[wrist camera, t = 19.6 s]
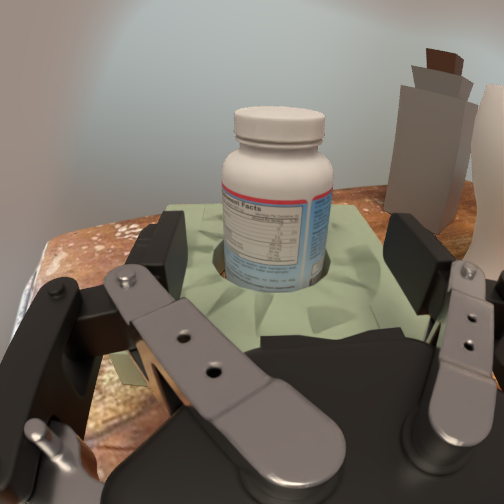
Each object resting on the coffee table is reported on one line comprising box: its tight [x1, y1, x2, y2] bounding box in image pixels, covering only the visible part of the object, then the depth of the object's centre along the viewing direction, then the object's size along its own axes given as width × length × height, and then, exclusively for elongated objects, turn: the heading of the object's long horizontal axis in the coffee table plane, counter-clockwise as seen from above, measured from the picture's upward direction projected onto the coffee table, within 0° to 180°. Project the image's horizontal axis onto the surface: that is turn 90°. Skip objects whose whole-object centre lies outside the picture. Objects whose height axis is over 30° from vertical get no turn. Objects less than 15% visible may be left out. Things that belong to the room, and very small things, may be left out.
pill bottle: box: [222, 106, 334, 293], centre depth 18 cm, size 6×6×11 cm
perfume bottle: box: [383, 48, 478, 235], centre depth 27 cm, size 7×7×18 cm
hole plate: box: [109, 204, 429, 386], centre depth 21 cm, size 16×16×2 cm
